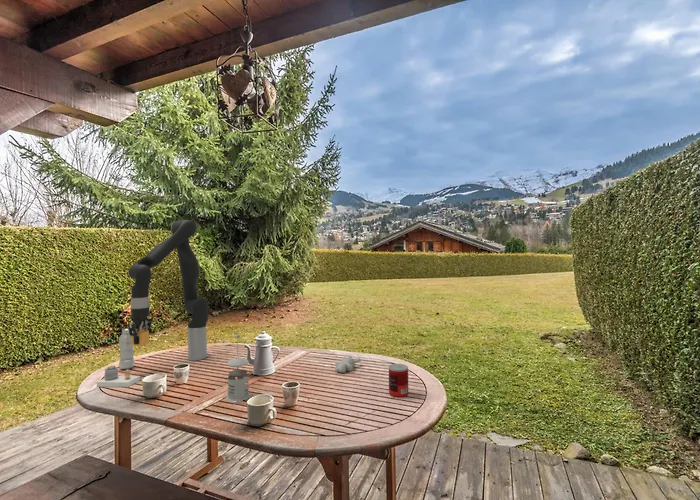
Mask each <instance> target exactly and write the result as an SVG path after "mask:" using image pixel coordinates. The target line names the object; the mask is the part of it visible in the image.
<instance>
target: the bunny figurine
mask: <svg viewBox="0 0 700 500" xmlns="http://www.w3.org/2000/svg"><path fill="white" fill-rule="evenodd" d="M360 362H362V360H361V358H360V357H358V358H352V356H347V357H345V356H344V357H343V358H342V359H341V360H340V361H337V362H335V365H334V366H335V372H338V373H343V374H346V373H347V371H353V370H354V368H355V364H356V363H357V364H358V363H360Z"/></svg>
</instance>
